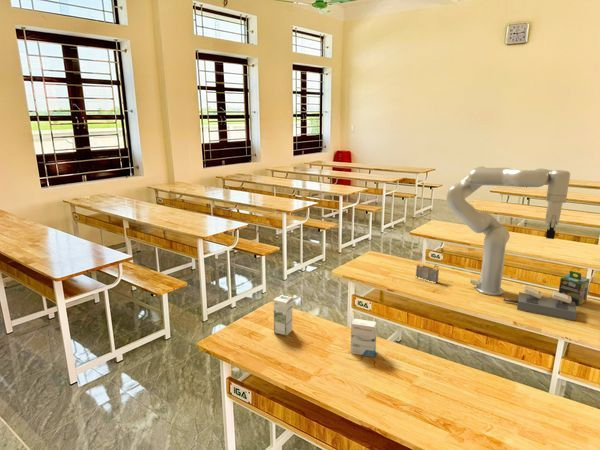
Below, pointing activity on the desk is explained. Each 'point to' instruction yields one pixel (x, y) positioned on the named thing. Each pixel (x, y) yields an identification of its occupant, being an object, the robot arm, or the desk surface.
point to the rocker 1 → (533, 292)
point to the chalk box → (575, 287)
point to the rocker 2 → (562, 297)
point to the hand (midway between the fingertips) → (549, 238)
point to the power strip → (545, 306)
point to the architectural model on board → (427, 273)
